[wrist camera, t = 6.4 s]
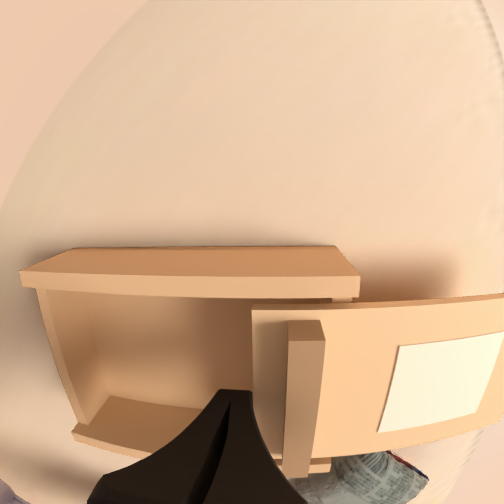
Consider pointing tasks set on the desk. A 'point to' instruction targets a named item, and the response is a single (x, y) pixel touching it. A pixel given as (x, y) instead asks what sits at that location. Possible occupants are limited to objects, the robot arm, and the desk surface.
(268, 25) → the desk surface
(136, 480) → the robot arm
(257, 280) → the light brown rectangular box
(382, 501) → the packaged food
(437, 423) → the lid
